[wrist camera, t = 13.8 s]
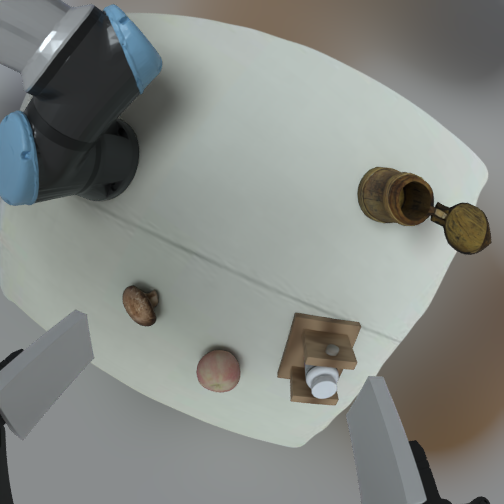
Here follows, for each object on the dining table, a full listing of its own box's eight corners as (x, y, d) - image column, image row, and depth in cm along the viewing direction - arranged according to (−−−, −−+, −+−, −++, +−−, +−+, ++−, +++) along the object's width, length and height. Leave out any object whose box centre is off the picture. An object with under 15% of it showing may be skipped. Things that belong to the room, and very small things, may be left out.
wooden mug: (415, 241, 40) (477, 278, 23) (349, 208, 40) (395, 232, 22) (433, 194, 37) (503, 209, 20) (369, 157, 37) (426, 147, 20)
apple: (201, 367, 51) (191, 393, 43) (204, 338, 49) (193, 363, 41) (240, 376, 50) (234, 403, 43) (246, 347, 48) (240, 375, 41)
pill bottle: (337, 357, 45) (346, 393, 36) (311, 369, 47) (315, 406, 37) (325, 337, 44) (334, 373, 35) (298, 350, 46) (301, 386, 36)
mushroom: (162, 288, 43) (134, 311, 39) (173, 318, 48) (149, 339, 44) (137, 269, 47) (111, 288, 43) (148, 299, 52) (126, 317, 48)
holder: (277, 372, 49) (276, 406, 40) (295, 312, 45) (298, 344, 36) (334, 379, 49) (341, 412, 40) (359, 322, 45) (373, 353, 36)
